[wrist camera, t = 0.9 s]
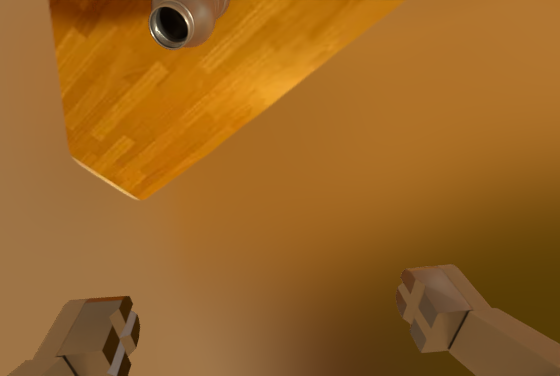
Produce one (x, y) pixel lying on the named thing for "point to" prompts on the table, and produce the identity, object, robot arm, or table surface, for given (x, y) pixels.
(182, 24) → the plastic bottle
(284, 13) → the table surface
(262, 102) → the table surface
